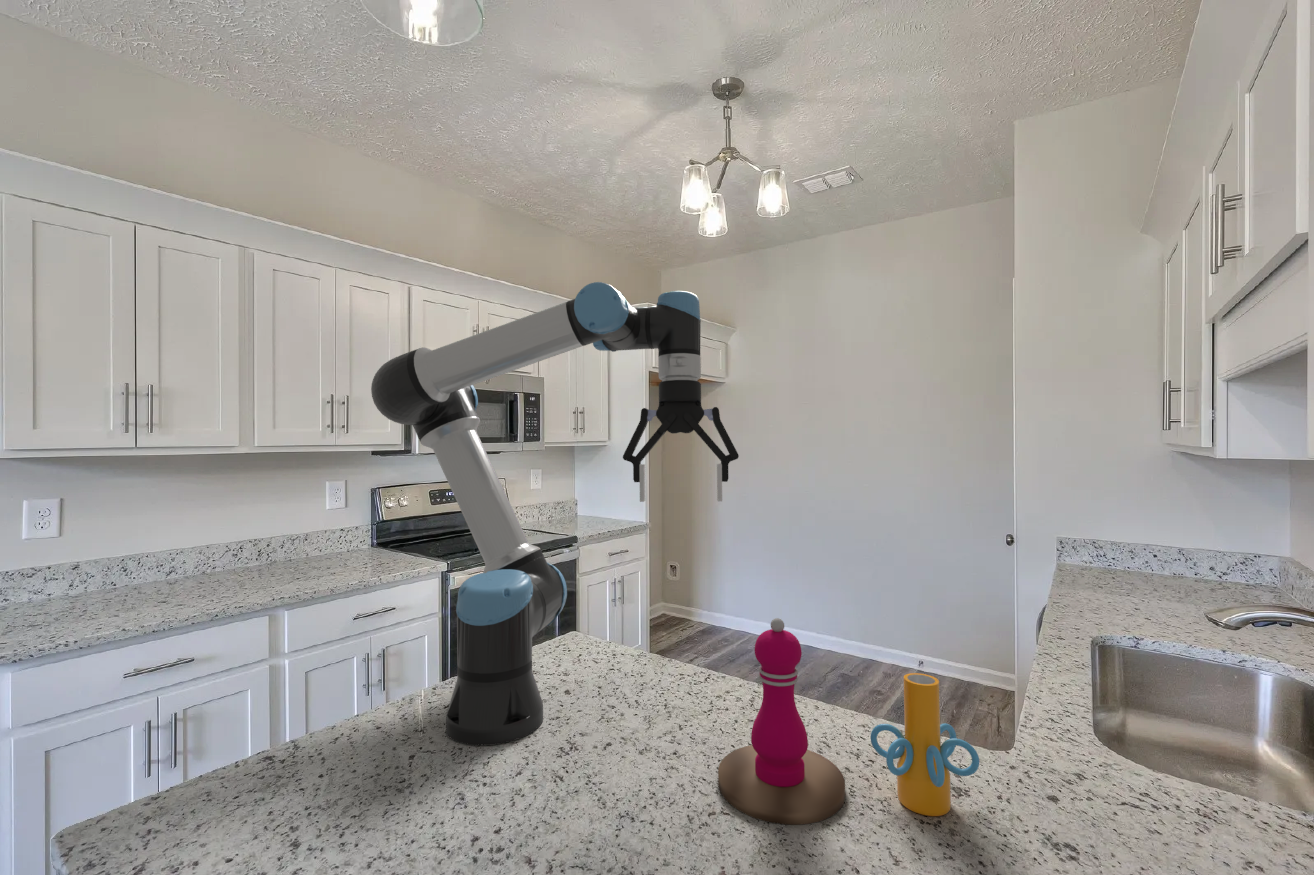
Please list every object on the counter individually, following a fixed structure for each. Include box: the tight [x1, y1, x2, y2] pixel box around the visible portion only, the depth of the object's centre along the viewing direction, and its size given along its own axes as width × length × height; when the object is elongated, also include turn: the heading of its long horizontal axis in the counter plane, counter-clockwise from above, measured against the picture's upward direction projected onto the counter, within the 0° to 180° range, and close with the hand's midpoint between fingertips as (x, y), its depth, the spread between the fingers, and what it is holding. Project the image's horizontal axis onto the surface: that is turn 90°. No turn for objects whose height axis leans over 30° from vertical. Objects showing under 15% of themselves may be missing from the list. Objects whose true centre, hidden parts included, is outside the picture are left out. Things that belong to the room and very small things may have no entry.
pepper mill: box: [750, 617, 809, 787], centre depth 76 cm, size 7×7×20 cm
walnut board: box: [717, 744, 846, 826], centre depth 76 cm, size 16×16×2 cm
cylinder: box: [870, 672, 980, 817], centre depth 72 cm, size 12×10×15 cm
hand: (681, 501), depth 104 cm, fingers open, 13 cm apart
